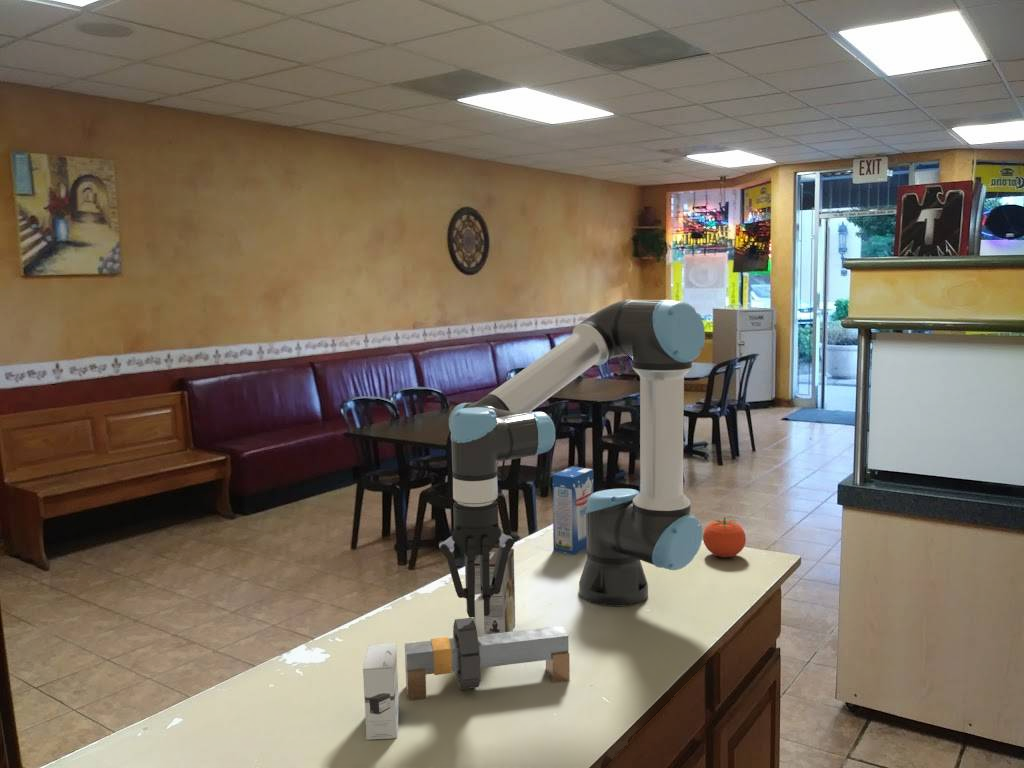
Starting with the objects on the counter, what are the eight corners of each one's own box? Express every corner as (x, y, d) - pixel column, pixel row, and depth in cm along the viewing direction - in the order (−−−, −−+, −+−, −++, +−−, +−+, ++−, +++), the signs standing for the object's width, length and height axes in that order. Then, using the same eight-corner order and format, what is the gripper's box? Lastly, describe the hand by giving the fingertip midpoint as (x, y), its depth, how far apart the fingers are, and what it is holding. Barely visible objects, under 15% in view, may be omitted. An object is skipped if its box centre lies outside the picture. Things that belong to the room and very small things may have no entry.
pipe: (561, 666, 145) (561, 623, 144) (569, 680, 140) (569, 635, 139) (406, 685, 139) (404, 641, 138) (408, 700, 134) (406, 654, 133)
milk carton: (573, 539, 214) (572, 466, 211) (593, 543, 210) (593, 469, 207) (553, 550, 205) (552, 474, 203) (574, 555, 202) (573, 477, 199)
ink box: (369, 711, 132) (366, 643, 130) (400, 709, 132) (397, 641, 130) (364, 741, 123) (361, 669, 121) (397, 739, 123) (394, 667, 122)
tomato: (695, 551, 203) (696, 513, 201) (732, 547, 205) (733, 509, 204) (715, 565, 193) (715, 525, 192) (753, 561, 195) (754, 521, 194)
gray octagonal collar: (470, 666, 144) (469, 609, 143) (481, 697, 134) (479, 635, 132) (454, 668, 144) (452, 611, 142) (463, 699, 133) (461, 638, 132)
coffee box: (485, 621, 164) (483, 546, 162) (516, 624, 163) (514, 548, 161) (474, 642, 155) (472, 562, 153) (506, 644, 154) (505, 564, 152)
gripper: (508, 491, 140) (511, 620, 143) (434, 497, 137) (438, 628, 140) (518, 503, 133) (520, 638, 136) (439, 509, 130) (443, 647, 133)
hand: (478, 633), depth 138 cm, fingers closed
